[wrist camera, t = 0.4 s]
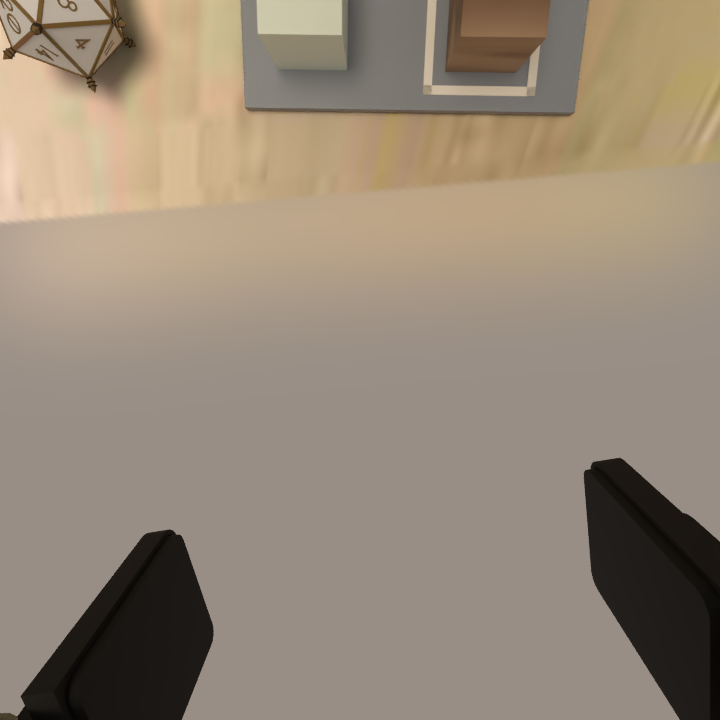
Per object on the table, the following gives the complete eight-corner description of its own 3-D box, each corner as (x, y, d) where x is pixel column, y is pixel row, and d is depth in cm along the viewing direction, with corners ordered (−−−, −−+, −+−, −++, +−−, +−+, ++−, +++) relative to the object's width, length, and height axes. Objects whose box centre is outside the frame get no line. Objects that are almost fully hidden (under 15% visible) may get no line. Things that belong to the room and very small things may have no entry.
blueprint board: (238, -121, 31) (234, -131, 30) (599, -119, 30) (606, -130, 29) (247, 110, 34) (244, 107, 34) (569, 115, 34) (574, 112, 33)
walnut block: (450, -11, 31) (467, -67, 26) (523, -10, 31) (557, -66, 25) (445, 71, 33) (460, 36, 27) (515, 72, 33) (546, 37, 27)
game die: (139, 74, 37) (111, 132, 31) (14, 25, 34) (-45, 79, 28) (151, -61, 31) (119, -21, 25) (0, -137, 28) (-79, -112, 22)
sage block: (276, -13, 32) (254, -69, 26) (348, -12, 32) (342, -68, 26) (277, 69, 33) (257, 34, 27) (347, 70, 33) (341, 35, 27)
